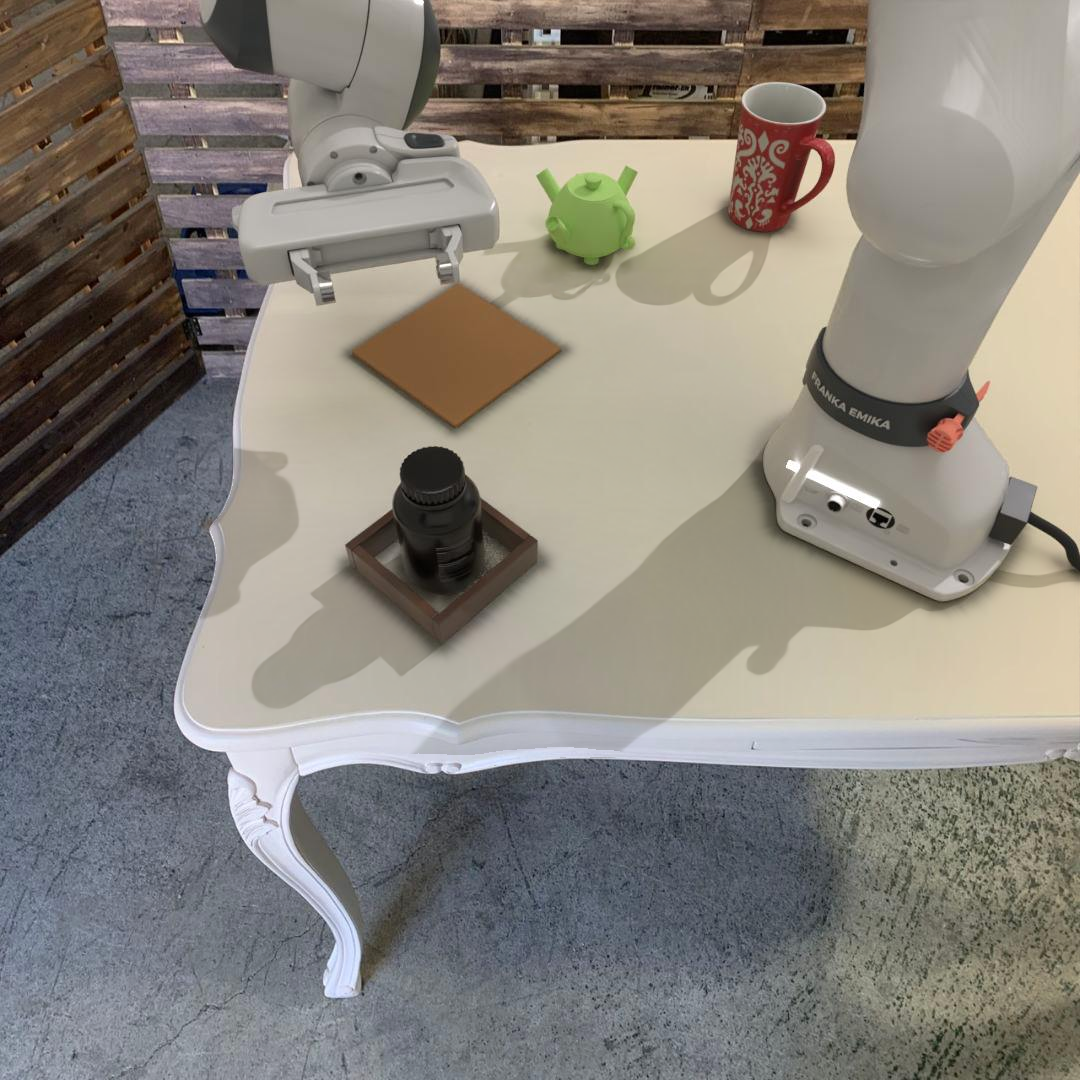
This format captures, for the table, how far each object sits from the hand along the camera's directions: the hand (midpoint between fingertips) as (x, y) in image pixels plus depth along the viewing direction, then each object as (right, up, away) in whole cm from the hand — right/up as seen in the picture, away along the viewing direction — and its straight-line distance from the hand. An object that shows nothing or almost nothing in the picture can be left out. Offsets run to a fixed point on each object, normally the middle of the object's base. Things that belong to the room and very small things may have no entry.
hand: (388, 286), depth 67 cm
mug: (+38, +18, +39) cm, 57 cm away
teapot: (+16, +15, +36) cm, 42 cm away
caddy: (+3, -21, +9) cm, 23 cm away
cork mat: (+3, 0, +24) cm, 24 cm away
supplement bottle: (+3, -21, +9) cm, 23 cm away
